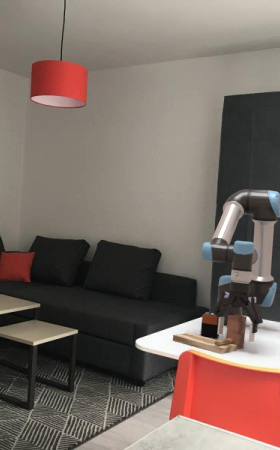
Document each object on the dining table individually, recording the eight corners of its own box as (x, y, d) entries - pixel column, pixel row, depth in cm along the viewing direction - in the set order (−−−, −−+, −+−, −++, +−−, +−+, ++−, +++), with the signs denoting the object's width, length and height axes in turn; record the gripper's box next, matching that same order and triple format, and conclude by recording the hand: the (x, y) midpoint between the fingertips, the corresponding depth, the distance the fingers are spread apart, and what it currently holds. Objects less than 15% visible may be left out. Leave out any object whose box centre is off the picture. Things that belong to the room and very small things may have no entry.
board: (187, 337, 203) (188, 332, 203) (236, 350, 189) (236, 344, 189) (172, 340, 196) (173, 334, 196) (221, 353, 181) (222, 348, 181)
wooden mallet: (233, 345, 197) (236, 314, 197) (243, 348, 194) (246, 316, 194) (210, 350, 185) (213, 317, 185) (221, 353, 182) (224, 319, 182)
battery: (216, 339, 206) (218, 314, 206) (200, 336, 208) (202, 312, 208) (218, 337, 210) (221, 313, 210) (202, 334, 212) (205, 310, 212)
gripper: (207, 277, 199) (202, 331, 199) (265, 286, 183) (260, 346, 183) (218, 277, 205) (213, 329, 205) (275, 286, 188) (270, 343, 188)
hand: (235, 337), depth 194 cm, fingers open, 13 cm apart
